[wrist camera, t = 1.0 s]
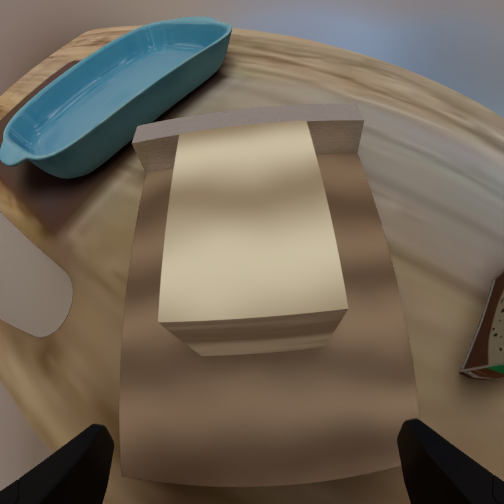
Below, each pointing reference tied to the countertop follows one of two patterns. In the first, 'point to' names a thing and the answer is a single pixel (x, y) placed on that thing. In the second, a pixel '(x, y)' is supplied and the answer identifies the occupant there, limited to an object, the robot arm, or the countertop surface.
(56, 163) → the casserole dish
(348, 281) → the walnut board
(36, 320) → the cylindrical container
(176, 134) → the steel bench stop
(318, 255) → the maple block
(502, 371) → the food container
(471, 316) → the countertop surface
